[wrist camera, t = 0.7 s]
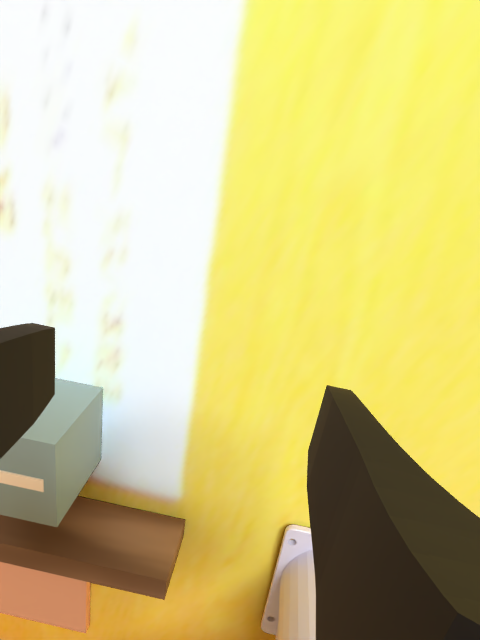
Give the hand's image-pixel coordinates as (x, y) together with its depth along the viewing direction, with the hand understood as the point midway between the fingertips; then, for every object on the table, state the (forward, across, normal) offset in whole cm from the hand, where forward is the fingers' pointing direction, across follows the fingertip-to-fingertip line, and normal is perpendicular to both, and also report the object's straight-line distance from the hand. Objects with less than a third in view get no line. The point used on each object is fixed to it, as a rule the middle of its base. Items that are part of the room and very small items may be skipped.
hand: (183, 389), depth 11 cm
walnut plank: (+10, +10, +16) cm, 21 cm away
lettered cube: (+10, +9, +10) cm, 16 cm away
